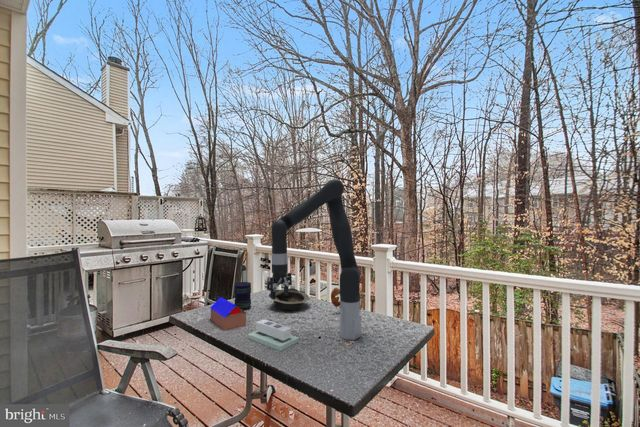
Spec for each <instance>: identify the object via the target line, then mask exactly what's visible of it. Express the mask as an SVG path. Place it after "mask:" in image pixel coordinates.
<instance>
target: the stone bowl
mask: <svg viewBox="0 0 640 427" xmlns="http://www.w3.org/2000/svg"><path fill="white" fill-rule="evenodd" d="M275 291H276V299H271V292H269V294H268V297H269V298H270V299H271V300H272V301H273V305H275V308H276V309H277V310H280V311H286V310H287V311H296V310H299V309H300V308H301V307H302V306H303V305H304V303H306V302H308V301H309V300H310V297H309V294H307V293H304V292H301V291H300V290H298V289H295V288H290V287H289V290H288V291H289V293H288V295H284V289H277V288H276V290H275Z"/></svg>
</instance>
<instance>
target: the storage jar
mask: <svg viewBox="0 0 640 427" xmlns="http://www.w3.org/2000/svg"><path fill="white" fill-rule="evenodd" d="M251 293H252V283H251V282H250V281H249V282H248V281H239V282H236V283H234V302H233V304H234V305H236V306H238V307H239V308H240V309H242V310H243V311H245V312H246V311H249V310H251V309H252V298H251Z"/></svg>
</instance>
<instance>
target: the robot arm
mask: <svg viewBox="0 0 640 427" xmlns="http://www.w3.org/2000/svg"><path fill="white" fill-rule="evenodd" d="M344 189H345V187H344V184H343V182H342V181H341V180H339V179H336V178H334V179H333V178H332V179H329V180H328V181H327V182H325V184H324V185H323V186H322V187H321V188H320V189H319V190H318V191H317V192H316V193H315V194H313V195H312V196H310V197H309V198H307V199H306V200H304V201H303V202H301V203H299V204H298V205H297V206H295V207H293V208H292V209H291V210H289V211H288V212H287V213H286V214H284V215H283V216H281V217H279V218H278V219H277V220H276V221H274V222H273V223H272V224H271V241H272V242H271V274H272V276H268V277H267V279H266V280H267V281H266V290H267V291H269V292H270V293H271V298H270V299H271V300H272V299H276V291H275V290H276V289H277V288H278V287H279V286H280V285H282V286H284V287H283V290H284V295H288V293H289V291H288V290H289V289H290V286H292V284H293V283H292V282H293V281H292V279H293V278H292V273H291V272H289V266H288V264H289V263H288V243H287V238H288V236H287V234H288V230H290V229H291V228H292V227H294V226H296V225H298V224H299V223H301V222H303V221H304V220H305V219H307V218H308V217H309V216H311V214H313V213H314V212H315V211H317V210H318V209H319V208H321V207H322V206H323V205H325V204H326V205H327V208H328V213H329V223H330V229H331V230H330V231H331V235H332V240H333V242H334V243H333V244H334V246H335V249H336V250H337V254H338V256H339V263H340V274H339V289H340V294H339V301H340V306H339V337H340V338H342V339H343V340H347V341H348V340H352V341H355V340H357V339H359V338H361V337H362V316H361V315H360V304H361V302H360V300H361V299H360V297H361V296H360V291H361V290H360V289H361V288H360V287H361V286H360V283H361V282H360V281H361V280H360V279H361V273H360V270H359V266H358V264H357V260H356V256H355V252H354V251H355V250H354V241H353V233H352V228H351V224H350V221H349V218H348V216H347V213H346V211H345V208H344V203H343V196H342V195H343V194H344Z"/></svg>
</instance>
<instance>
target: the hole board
mask: <svg viewBox="0 0 640 427" xmlns="http://www.w3.org/2000/svg"><path fill="white" fill-rule="evenodd" d="M260 334H262V333H261V332H259V331H256V330H255V331H252V332H251V333H248V334H247V339H249V341H254V342H255V343H257V344H261V345H263V346H266V347H268V348H271V349H274V350H275V351H279V352H282V351H283V350H285V349H288V348H289V347H292V346H293V345H296V344H297V343H299V342H300V340H299V339H300V337H298V336H295V335H293V334H291V337H290V338H288V339H286V340H287V341H286V342H284V343H281V342H278V341H279V340H280V339H278V338H275V337H272V336H269V335H266V336H262V335H260Z"/></svg>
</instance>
